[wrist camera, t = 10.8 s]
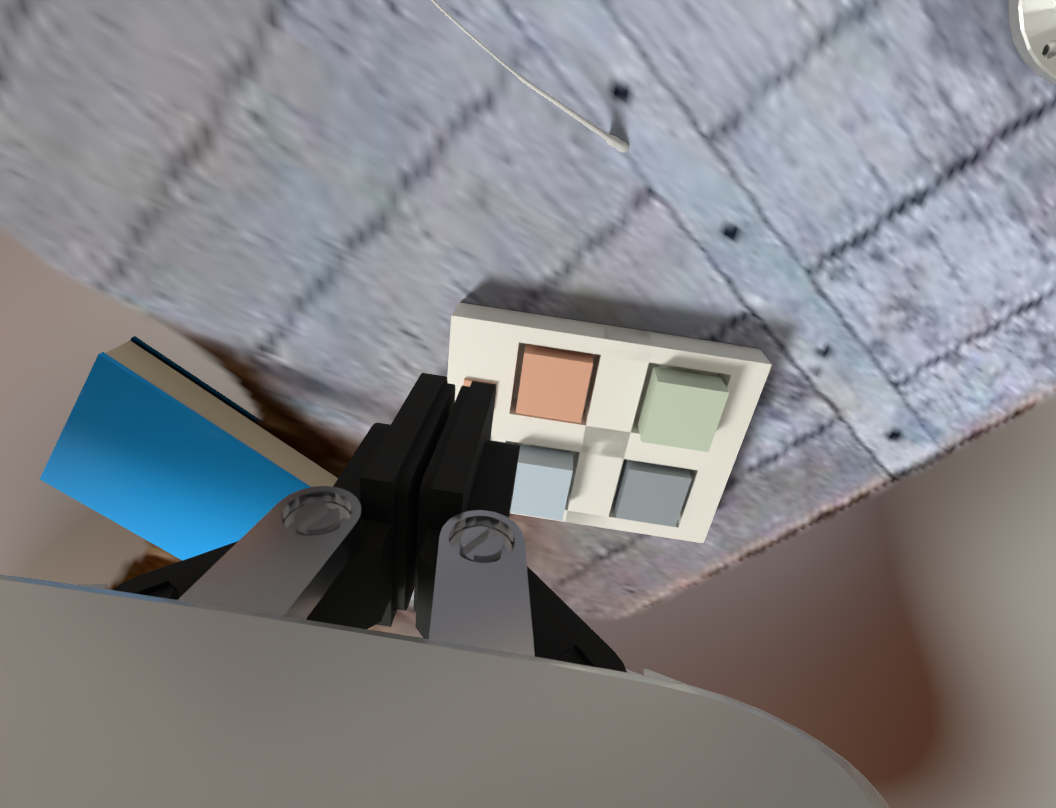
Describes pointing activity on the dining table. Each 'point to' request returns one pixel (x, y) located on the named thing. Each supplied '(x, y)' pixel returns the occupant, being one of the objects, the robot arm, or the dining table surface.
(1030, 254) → the dining table surface
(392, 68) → the dining table surface
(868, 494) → the dining table surface
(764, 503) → the dining table surface
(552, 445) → the keypad
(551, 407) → the key terracotta
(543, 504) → the key blue
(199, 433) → the book
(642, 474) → the key slate
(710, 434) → the key sage
